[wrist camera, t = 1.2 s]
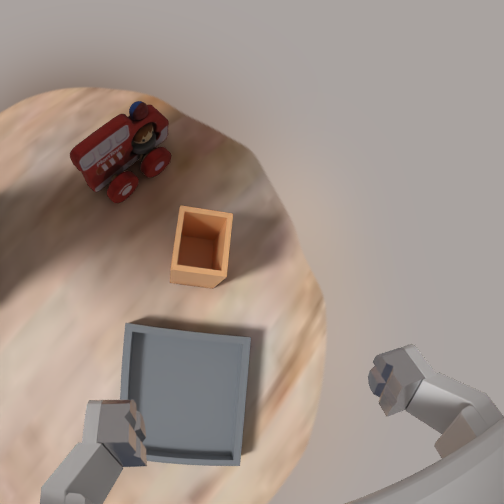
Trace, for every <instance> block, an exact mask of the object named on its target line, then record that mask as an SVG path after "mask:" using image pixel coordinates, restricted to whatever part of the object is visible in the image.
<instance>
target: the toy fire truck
mask: <svg viewBox="0 0 504 504" xmlns="http://www.w3.org/2000/svg"><path fill="white" fill-rule="evenodd" d="M129 114H130V116H129V117H127V116H126V115H125V114H120V115H118V116H116V117H115V118H113V119H112V120H110V121H109V122H108V123H106V124H105V125H103V126H102V127H100V128H99V129H98V130H96V131H95V132H94V133H92V134H91V135H90V136H88V137H87V138H86V139H84V140H83V141H82V142H80V143H79V144H78V145H77V146H75V147H74V148H73V149H72V151H71V152H70V158H71V160H72V162H73V164H74V165H75V166H76V168H77V169H78V170H79V171H81V172H82V174H83V176H84V178H85V180H86V182H87V185H88V186H89V187H90V188H91V189H92V190H93V191H94V192H98V191H100V190H101V189H102V188H104V187H105V186H106V185H107V184H109V183H110V185H109V187H108V190H107V196H108V197H109V198H110V199H111V200H112V202H114V203H120V202H122V201H124V200H125V199H127V198H128V197H129V196H130V195H131V194H132V193H133V192H134V191H135V189H136V187H137V186H138V182H139V179H138V178H137V176H136V175H135V174H134V173H133V172H132V171H125V172H123V171H124V170H126V169H127V168H128V167H130V166H131V165H132V164H133V163H135V162H136V161H137V160H138V159H140V161H141V162H142V163H141V166H140V169H141V171H142V172H143V173H144V174H145V176H147V177H149V178H151V177H154V176H156V175H158V174H159V173H161V172H162V171H163V170H164V169H165V168H166V167H167V165H168V164H169V162H170V160H171V153H170V152H169V151H168V150H167V149H166V148H164V147H158V148H156V146H157V145H159V144H160V143H161V142H163V141H164V140H165V139H166V138H167V136H168V124H169V122H168V120H167V119H166V118H165V117H164V116H163V115H162V114H161V113H160V112H159V111H158V110H157V109H155V108H154V107H153V106H152V105H146V104H145V103H144V102H141V101H138V102H135V103H133V104H132V105H131V107H130V109H129Z"/></svg>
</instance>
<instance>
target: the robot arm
mask: <svg viewBox="0 0 504 504" xmlns="http://www.w3.org/2000/svg"><path fill="white" fill-rule="evenodd" d="M373 363H374V365H375V366H374V367H373V368H372V369H371V370H370V373H369V376H368V380H369V386H370V389H371V391H372V392H373V394H374V395H376V396H378V397H380V399H379V404H380V406H381V408H382V410H383V411H384V413H385V415H386V416H390V415H393V414H395V413H397V412H400V411H403V410H406V411H407V412H408V413H410V414H411V415H413V416H415V417H416V418H418V419H419V420H421V421H423V422H424V423H426V424H427V425H429V426H430V427H432V428H433V429H435V430H436V431H438V432H439V433H441V434H442V436H441V437H440V438H439V439H438V440H437V441H436V443H435V448H436V449H437V451H438V453H439V454H440V456H441V458H442V459H441V460H439V461H438V462H436V463H434V464H432V465H430V466H428V467H427V468H425V469H423V470H421V471H419V472H417V473H415V474H413V475H411V476H409V477H407V478H405V479H403V480H401V481H399V482H397V483H395V484H392V485H390V486H388V487H386V488H383V489H381V490H379V491H376V492H374V493H372V494H369V495H366V496H364V497H361V498H359V499H356V500H353V501H351V502H348V503H345V504H504V416H503V415H502V414H501V412H500V411H499V410H498V408H497V407H496V405H495V404H494V403H493V402H492V400H491V399H490V397H489V396H488V395H487V394H486V393H484V392H481V391H479V390H477V389H475V388H472V387H470V386H468V385H466V384H464V383H461V382H459V381H457V380H455V379H452V378H450V377H448V376H446V375H444V374H442V373H436V372H435V371H434V370H433V368H432V367H431V366H430V364H429V363H428V362H427V360H426V359H425V358H424V357H423V355H422V354H421V353H420V351H419V350H418V349H417V348H416V346H414V345H413V344H410V345H407V346H404V347H401V348H397V349H394V350H392V351H389V352H385V353H382V354H379V355H377V356H376V357H375V359H374V361H373ZM145 438H146V429H145V423H144V419H143V416H142V415H141V413H140V412H139V411H137V410H136V403H135V402H134V400H133V399H131V400H89V402H88V404H87V407H86V414H85V421H84V429H83V437H82V443H77V444H76V446H75V447H74V448H73V449H72V451H71V452H70V453H69V454H68V455H67V457H66V458H65V459H64V460H63V461H62V463H61V464H60V465H59V466H58V468H57V469H56V470H55V471H54V473H53V474H52V475H51V476H50V477H49V479H48V480H47V481H46V482H45V484H44V485H43V486H42V487H41V498H40V504H103V502H104V501H105V499H106V497H107V495H108V494H109V492H110V490H111V489H112V487H113V485H114V483H115V482H116V480H117V478H118V477H119V475H120V473H121V471H122V470H123V467H138V466H147V457H146V448H145V447H144V445H143V443H142V442H143V441H144V440H145Z"/></svg>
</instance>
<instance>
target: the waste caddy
mask: <svg viewBox="0 0 504 504" xmlns="http://www.w3.org/2000/svg"><path fill="white" fill-rule="evenodd" d="M232 220H233V214H232V213H226V212H220V211H213V210H207V209H201V208H194V207H188V206H181V205H180V210H179V216H178V222H177V228H176V235H175V241H174V248H173V255H172V263H171V272H170V283H175V284H182V285H190V286H198V287H205V288H214V287H215V286H216V285H218V284H219V283H220V282H221V281H222V280H224V279H225V278H226V277H227V268H228V258H229V248H230V239H231V229H232Z"/></svg>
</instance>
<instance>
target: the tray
mask: <svg viewBox="0 0 504 504" xmlns="http://www.w3.org/2000/svg"><path fill="white" fill-rule="evenodd" d="M250 342H251V337H243V336H231V335H221V334H210V333H201V332H192V331H183V330H175V329H167V328H160V327H152V326H145V325H138V324H132V323H126V324H125V334H124V345H123V358H122V373H121V394H120V400H131V399H133V400H134V402H135V403H136V410H137V411H139V412H140V413H141V415H142V416H143V419H144V423H145V429H146V438H145V440H144V441H143V442H142V443H143V445H144V447H145V448H146V457H147V461H153V462H162V463H173V464H187V465H208V466H240V459H241V448H242V437H243V425H244V413H245V402H246V390H247V378H248V366H249V354H250Z"/></svg>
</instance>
